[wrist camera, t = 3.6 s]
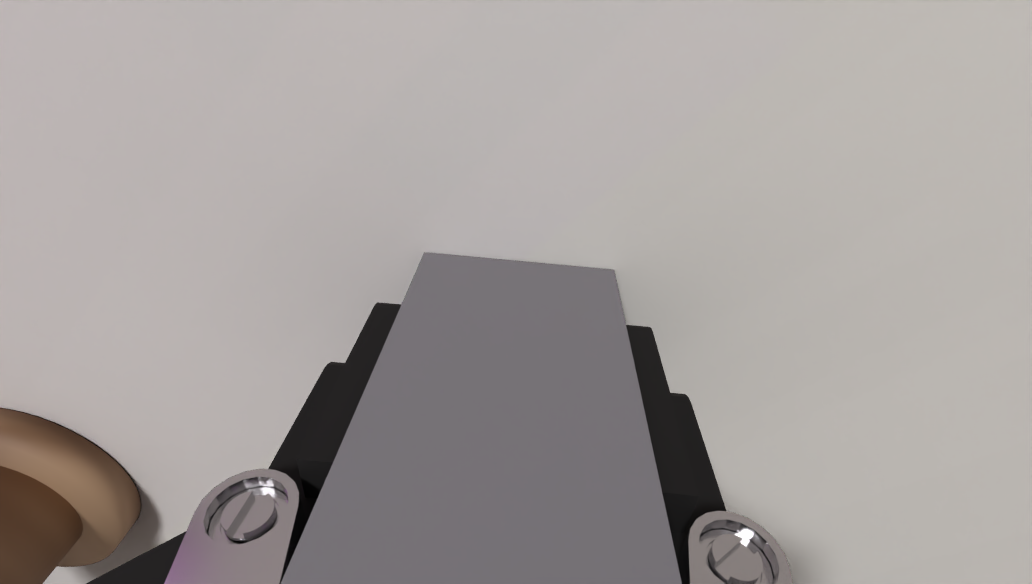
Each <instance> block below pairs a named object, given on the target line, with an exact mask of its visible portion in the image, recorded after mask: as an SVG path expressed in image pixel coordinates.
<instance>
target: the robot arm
mask: <svg viewBox="0 0 1032 584" xmlns="http://www.w3.org/2000/svg"><path fill="white" fill-rule="evenodd" d="M400 307H401V305H400V304H389V303H376V304H375V306H374V308H373V310H372V312H371V314H370V316H369V317H368V319H367V321H366V323H365V325H364V327H363V329H362V331H361V333H360V335H359V337H358V339H357V341H356V343H355V345H354V347H353V349H352V351H351V353H350V355H349V357H348V359H347V361H346V363H337V362H330V363H329V364H327V366H326V367H325V368H324V370H323V372H322V373H321V375H320V377H319V379H318V381H317V382H316V384H315V386H314V388H313V390H312V391H311V393H310V395H309V397H308V399H307V400H306V402H305V404H304V406H303V408H302V409H301V411H300V413H299V415H298V417H297V418H296V420H295V422H294V424H293V425H292V427H291V429H290V431H289V433H288V434H287V436H286V438H285V440H284V442H283V443H282V445H281V447H280V449H279V451H278V452H277V454H276V456H275V458H274V460H273V461H272V463H271V465H270V467H269V469H256V470H250V471H245V472H242V473H240V474H237V475H235V476H232V477H230V478H228V479H226V480H225V481H223V482H222V483H220V484H219V485H217V486H216V487H214V488H213V489H212V490H211V491H210V492H209V493H208V494H207V495H206V496H205V497H204V498H203V499H202V501H201V503H200V504H199V506H198V508H197V509H196V511H195V512H194V515H193V517H192V519H191V522H190V524H189V527H188V529H187V531H186V532H184V533H182V534H180V535H178V536H176V537H174V538H173V539H171V540H169V541H167V542H165V543H163V544H161V545H159V546H157V547H155V548H153V549H152V550H150V551H148V552H146V553H144V554H142V555H140V556H138V557H136V558H134V559H132V560H131V561H129V562H127V563H125V564H123V565H121V566H119V567H117V568H115V569H113V570H111V571H110V572H108V573H106V574H104V575H102V576H100V577H98V578H96V579H94V580H92V581H90V582H89V583H87V584H281V582H282V579H283V577H284V575H285V572H286V570H287V568H288V565H289V563H290V561H291V558H292V556H293V554H294V552H295V549H296V547H297V545H298V542H299V540H300V538H301V535H302V533H303V531H304V528H305V526H306V524H307V522H308V519H309V517H310V515H311V512H312V510H313V508H314V505H315V503H316V501H317V498H318V496H319V494H320V492H321V489H322V487H323V485H324V482H325V480H326V478H327V475H328V473H329V471H330V469H331V466H332V464H333V462H334V459H335V457H336V455H337V452H338V450H339V448H340V445H341V443H342V441H343V439H344V436H345V434H346V432H347V429H348V427H349V425H350V422H351V420H352V418H353V415H354V413H355V411H356V409H357V406H358V404H359V402H360V399H361V397H362V395H363V392H364V390H365V388H366V386H367V383H368V381H369V379H370V376H371V374H372V372H373V369H374V367H375V365H376V362H377V360H378V358H379V356H380V353H381V351H382V349H383V346H384V344H385V342H386V339H387V337H388V335H389V332H390V330H391V328H392V326H393V323H394V321H395V319H396V316H397V314H398V312H399V309H400ZM626 327H627V332H628V336H629V341H630V346H631V350H632V355H633V359H634V364H635V369H636V373H637V378H638V383H639V387H640V392H641V397H642V401H643V406H644V410H645V415H646V420H647V424H648V429H649V434H650V438H651V443H652V448H653V452H654V457H655V462H656V466H657V471H658V475H659V480H660V485H661V489H662V494H663V499H664V503H665V508H666V513H667V517H668V522H669V526H670V531H671V536H672V540H673V545H674V550H675V554H676V559H677V564H678V568H679V573H680V577H681V582H682V584H793V580H792V575H791V570H790V566H789V564H788V561H787V558H786V556H785V553H784V551H783V550H782V549H781V547H780V546H779V544H778V543H777V541H776V540H775V539H774V538H773V537H772V536H771V535H770V534H769V533H768V532H767V531H766V530H765V529H764V528H763V527H762V526H760V525H758V524H757V523H755V522H754V521H752V520H751V519H749V518H747V517H744V516H742V515H739V514H736V513H734V512H726V509H725V506H724V503H723V500H722V496H721V493H720V490H719V487H718V484H717V481H716V478H715V475H714V472H713V469H712V466H711V463H710V460H709V457H708V453H707V450H706V447H705V444H704V441H703V438H702V435H701V432H700V429H699V426H698V423H697V420H696V417H695V414H694V411H693V407H692V404H691V402H690V400H689V397H688V396H687V395H685V394H677V393H670V391H669V387H668V384H667V380H666V377H665V373H664V370H663V366H662V363H661V359H660V356H659V352H658V349H657V345H656V342H655V338H654V335H653V331H652V329H651V328H650V327H643V326H632V325H626Z"/></svg>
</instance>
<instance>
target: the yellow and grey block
mask: <svg viewBox="0 0 1032 584" xmlns="http://www.w3.org/2000/svg"><path fill="white" fill-rule="evenodd" d="M281 584H682V582H681V577H680V573H679V568H678V564H677V559H676V554H675V550H674V545H673V540H672V536H671V531H670V526H669V522H668V517H667V513H666V508H665V503H664V499H663V494H662V489H661V485H660V480H659V475H658V471H657V466H656V462H655V457H654V452H653V448H652V443H651V438H650V434H649V429H648V424H647V420H646V415H645V410H644V406H643V401H642V397H641V392H640V387H639V383H638V378H637V373H636V369H635V364H634V359H633V355H632V350H631V346H630V341H629V336H628V332H627V327H626V322H625V318H624V313H623V308H622V304H621V299H620V294H619V290H618V285H617V281H616V276H615V271H614V270H611V269H600V268H589V267H578V266H567V265H556V264H545V263H534V262H523V261H512V260H502V259H491V258H480V257H469V256H458V255H447V254H436V253H425V252H424V254H423V256H422V259H421V261H420V263H419V266H418V268H417V270H416V273H415V275H414V277H413V279H412V282H411V284H410V286H409V289H408V291H407V293H406V296H405V298H404V300H403V302H402V305H401V307H400V309H399V312H398V314H397V316H396V319H395V321H394V323H393V326H392V328H391V330H390V332H389V335H388V337H387V339H386V342H385V344H384V346H383V349H382V351H381V353H380V356H379V358H378V360H377V362H376V365H375V367H374V369H373V372H372V374H371V376H370V379H369V381H368V383H367V386H366V388H365V390H364V392H363V395H362V397H361V399H360V402H359V404H358V406H357V409H356V411H355V413H354V415H353V418H352V420H351V422H350V425H349V427H348V429H347V432H346V434H345V436H344V439H343V441H342V443H341V445H340V448H339V450H338V452H337V455H336V457H335V459H334V462H333V464H332V466H331V469H330V471H329V473H328V475H327V478H326V480H325V482H324V485H323V487H322V489H321V492H320V494H319V496H318V498H317V501H316V503H315V505H314V508H313V510H312V512H311V515H310V517H309V519H308V522H307V524H306V526H305V528H304V531H303V533H302V535H301V538H300V540H299V542H298V545H297V547H296V549H295V552H294V554H293V556H292V558H291V561H290V563H289V565H288V568H287V570H286V572H285V575H284V577H283V579H282V582H281Z"/></svg>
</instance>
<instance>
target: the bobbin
mask: <svg viewBox="0 0 1032 584" xmlns="http://www.w3.org/2000/svg"><path fill="white" fill-rule="evenodd" d="M140 511H141V501H140V496H139V493H138V491H137V488H136V486H135V485H134V483H133V481H132V480H131V478H130V477H129V476H128V474H127V473H126V472H125V471H124V470H123V469H122V467H121V466H120V465H119V464H118V463H117V462H116V461H115V460H113V459H112V458H111V457H110V456H109V455H108V454H106V453H105V452H104V451H102V450H101V449H100V448H98V447H97V446H95V445H94V444H93V443H91V442H89V441H88V440H86V439H84V438H83V437H81V436H79V435H77V434H76V433H74V432H72V431H70V430H68V429H66V428H64V427H61V426H59V425H57V424H55V423H53V422H50V421H47V420H44V419H42V418H39V417H36V416H33V415H29V414H26V413H22V412H18V411H13V410H9V409H3V408H0V584H42V583H43V582H44V581H45V580H46V579H47V577H48V576H49V575H50V574H51V572H52V571H53V570H54V569H55V568H56V566H60V567H74V566H84V565H89V564H93V563H96V562H99V561H101V560H103V559H105V558H106V557H108V556H109V555H110V554H111V553H112V552H113V551H114V550H115V549H116V547H117V546H118V545H119V543H120V542H121V541H122V539H123V538H124V537H125V535H126V534H127V533H128V531H129V530H130V528H131V527H132V526H133V524H134V523H135V522H136V520H137V519H138V517H139V514H140Z"/></svg>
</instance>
